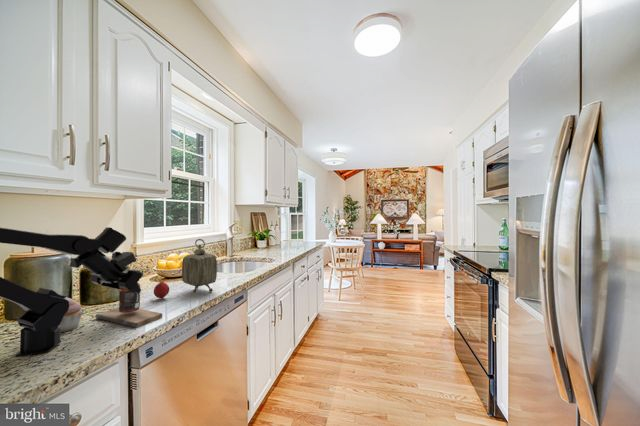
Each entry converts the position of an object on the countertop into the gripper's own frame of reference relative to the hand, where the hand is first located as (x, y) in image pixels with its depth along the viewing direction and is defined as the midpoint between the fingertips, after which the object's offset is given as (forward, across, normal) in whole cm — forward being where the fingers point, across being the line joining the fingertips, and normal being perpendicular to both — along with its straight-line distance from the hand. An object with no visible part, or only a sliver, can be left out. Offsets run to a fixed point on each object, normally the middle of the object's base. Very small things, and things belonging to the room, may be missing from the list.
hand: (134, 290), depth 94 cm
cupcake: (-4, +10, +17) cm, 20 cm away
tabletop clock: (+29, +3, -16) cm, 34 cm away
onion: (+19, +9, -6) cm, 22 cm away
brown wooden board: (+6, 0, +7) cm, 9 cm away
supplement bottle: (+4, 0, +6) cm, 7 cm away
